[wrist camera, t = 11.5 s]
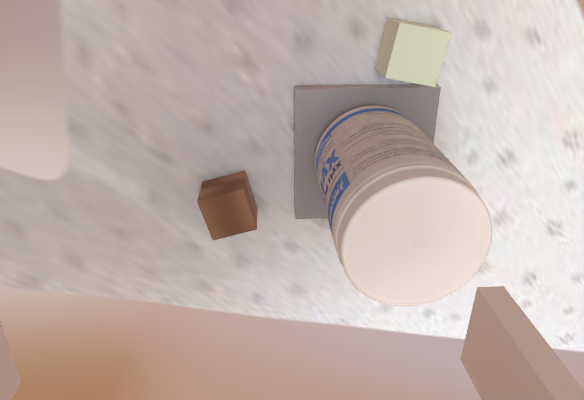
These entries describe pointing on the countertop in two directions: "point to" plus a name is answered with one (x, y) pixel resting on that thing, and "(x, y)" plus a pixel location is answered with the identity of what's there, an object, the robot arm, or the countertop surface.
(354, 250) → the supplement tub
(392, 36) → the pale green cube
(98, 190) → the countertop surface
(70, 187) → the countertop surface
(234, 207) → the walnut block
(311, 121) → the slate coaster
